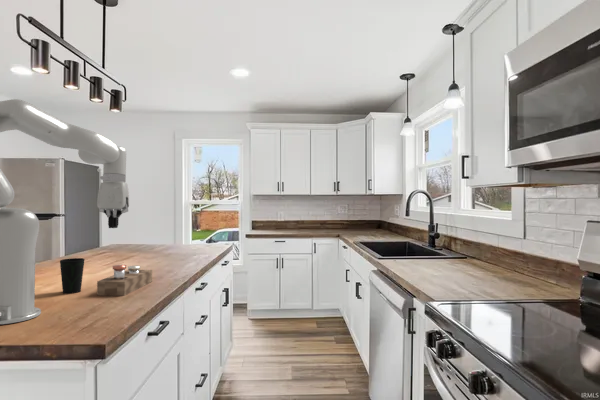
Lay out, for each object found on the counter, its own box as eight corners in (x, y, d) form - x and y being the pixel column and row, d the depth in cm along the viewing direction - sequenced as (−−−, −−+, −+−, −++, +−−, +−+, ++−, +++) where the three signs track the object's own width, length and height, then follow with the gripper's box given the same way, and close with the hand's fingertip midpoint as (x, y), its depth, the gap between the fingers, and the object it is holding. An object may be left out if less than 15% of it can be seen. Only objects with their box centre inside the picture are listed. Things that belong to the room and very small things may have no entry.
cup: (71, 295, 124) (72, 261, 124) (54, 293, 125) (54, 260, 125) (88, 290, 131) (89, 258, 131) (72, 288, 133) (72, 257, 133)
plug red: (122, 285, 127) (122, 267, 127) (109, 285, 127) (110, 266, 127) (128, 283, 132) (128, 264, 132) (116, 282, 132) (116, 264, 132)
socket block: (124, 295, 124) (124, 281, 124) (97, 295, 124) (97, 281, 124) (152, 281, 146) (152, 269, 146) (128, 281, 146) (128, 269, 146)
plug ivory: (136, 285, 138) (136, 267, 138) (125, 285, 138) (125, 267, 138) (142, 282, 143) (142, 265, 143) (131, 282, 143) (131, 265, 143)
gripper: (88, 178, 127) (87, 228, 126) (128, 178, 126) (127, 228, 126) (101, 180, 134) (100, 227, 134) (138, 180, 134) (137, 227, 133)
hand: (113, 227), depth 130 cm, fingers closed
